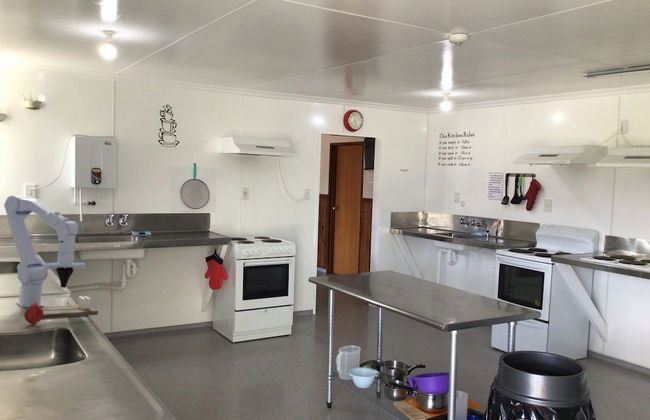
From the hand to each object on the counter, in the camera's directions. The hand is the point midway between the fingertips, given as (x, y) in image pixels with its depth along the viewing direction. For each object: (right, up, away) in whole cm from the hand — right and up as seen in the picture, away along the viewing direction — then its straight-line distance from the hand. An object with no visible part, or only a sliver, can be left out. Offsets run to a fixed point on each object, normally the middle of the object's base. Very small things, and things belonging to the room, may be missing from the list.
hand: (63, 287), depth 217 cm
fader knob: (+7, -8, +2) cm, 11 cm away
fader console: (+2, -10, -3) cm, 10 cm away
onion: (0, -10, -23) cm, 25 cm away
